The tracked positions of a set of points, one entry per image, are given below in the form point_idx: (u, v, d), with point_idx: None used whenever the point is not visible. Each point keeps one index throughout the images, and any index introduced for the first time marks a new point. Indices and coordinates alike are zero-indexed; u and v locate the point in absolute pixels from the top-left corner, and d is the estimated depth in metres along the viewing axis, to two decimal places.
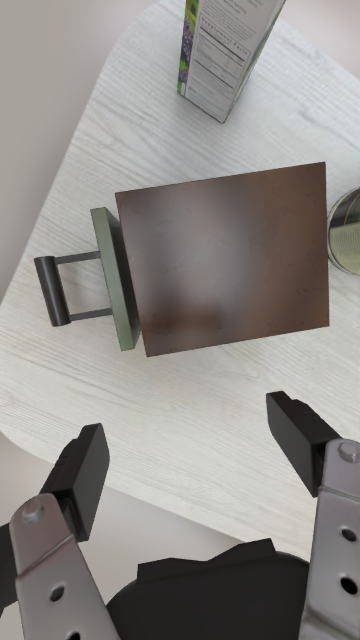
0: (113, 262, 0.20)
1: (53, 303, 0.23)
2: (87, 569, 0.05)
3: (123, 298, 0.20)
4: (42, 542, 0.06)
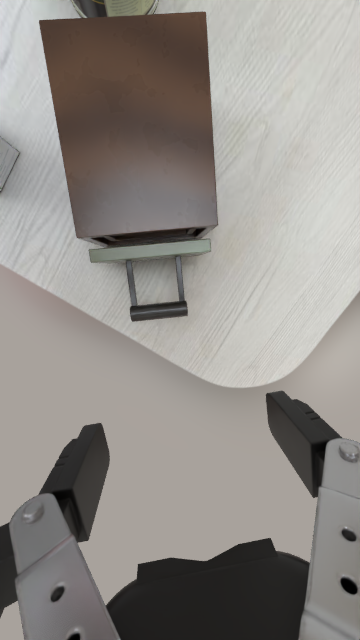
0: (132, 248, 0.23)
1: (168, 310, 0.28)
2: (87, 569, 0.05)
3: (164, 243, 0.24)
4: (42, 542, 0.06)
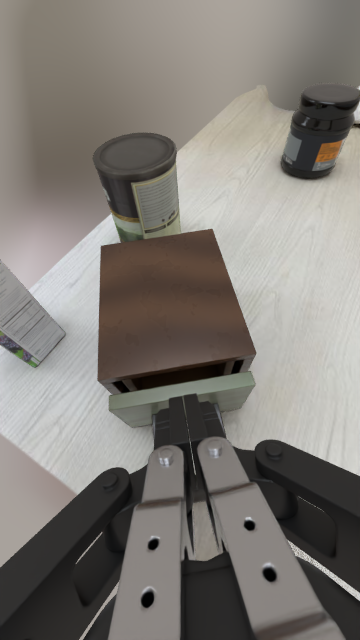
0: (160, 389, 0.20)
1: None
2: (179, 543, 0.05)
3: (196, 381, 0.20)
4: (163, 488, 0.07)
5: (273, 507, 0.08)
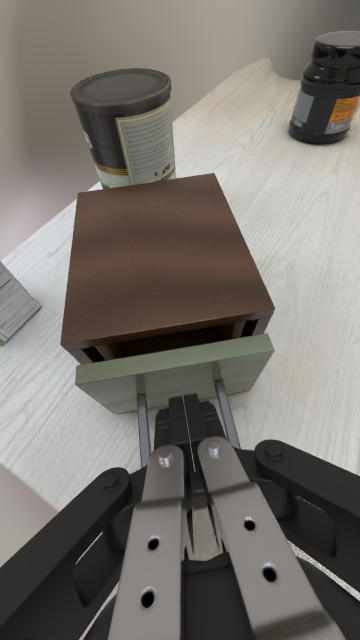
0: (145, 357, 0.15)
1: None
2: (179, 543, 0.05)
3: (195, 346, 0.15)
4: (163, 487, 0.07)
5: (273, 507, 0.08)
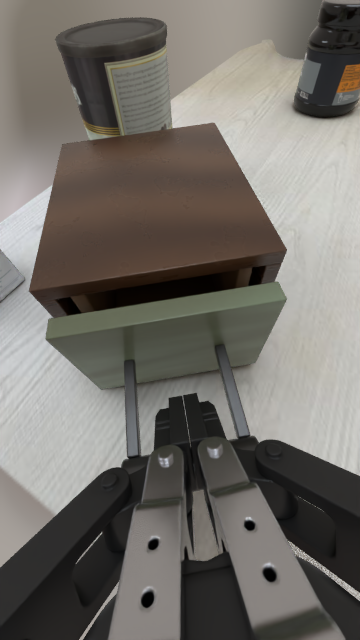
0: (132, 308, 0.12)
1: None
2: (179, 543, 0.05)
3: (191, 296, 0.12)
4: (163, 487, 0.07)
5: (273, 507, 0.08)
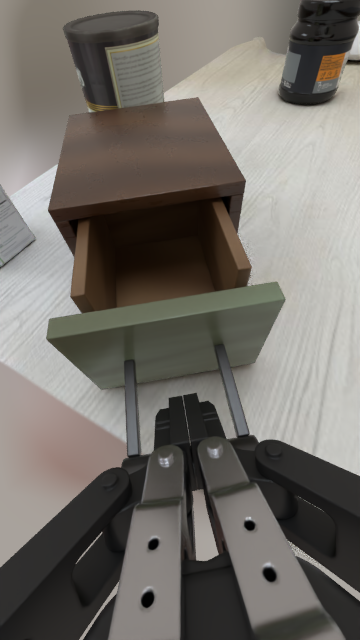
0: (131, 308, 0.12)
1: None
2: (179, 543, 0.05)
3: (191, 296, 0.12)
4: (163, 487, 0.07)
5: (273, 507, 0.08)
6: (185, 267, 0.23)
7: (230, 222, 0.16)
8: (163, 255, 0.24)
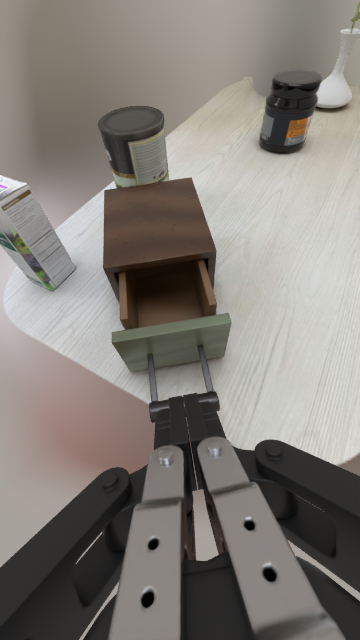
0: (153, 327, 0.24)
1: None
2: (179, 543, 0.05)
3: (183, 320, 0.24)
4: (163, 487, 0.07)
5: (273, 507, 0.08)
6: (182, 294, 0.35)
7: (207, 275, 0.27)
8: (167, 284, 0.36)
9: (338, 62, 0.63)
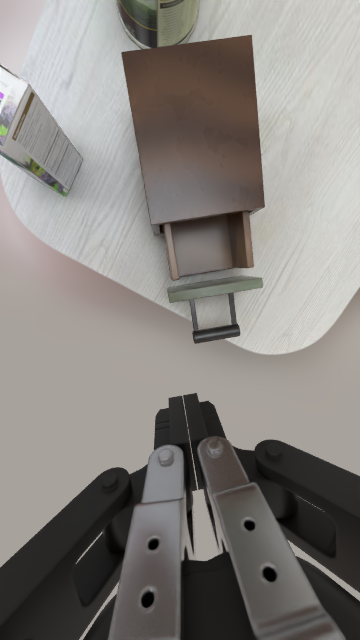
0: (202, 289, 0.30)
1: (224, 333, 0.34)
2: (179, 543, 0.05)
3: (226, 284, 0.30)
4: (163, 488, 0.07)
5: (273, 507, 0.08)
6: (213, 218, 0.35)
7: (249, 232, 0.29)
8: None
9: None
